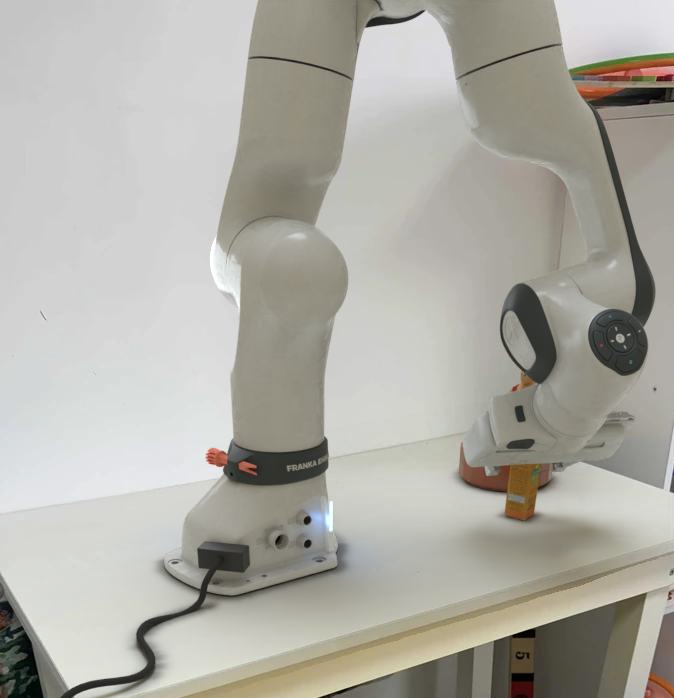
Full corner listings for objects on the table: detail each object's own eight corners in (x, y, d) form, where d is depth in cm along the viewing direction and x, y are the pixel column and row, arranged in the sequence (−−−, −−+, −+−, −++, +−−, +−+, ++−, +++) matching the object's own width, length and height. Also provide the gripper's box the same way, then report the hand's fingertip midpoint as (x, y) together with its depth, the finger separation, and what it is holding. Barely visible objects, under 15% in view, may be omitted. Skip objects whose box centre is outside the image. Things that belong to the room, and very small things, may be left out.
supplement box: (526, 521, 120) (533, 451, 116) (503, 516, 122) (510, 446, 117) (536, 514, 122) (544, 445, 118) (514, 509, 124) (521, 440, 120)
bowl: (515, 499, 128) (519, 467, 125) (440, 477, 137) (442, 446, 134) (568, 477, 137) (572, 446, 134) (494, 458, 146) (496, 428, 143)
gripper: (635, 390, 109) (589, 444, 121) (478, 397, 105) (448, 452, 118) (647, 435, 107) (599, 485, 120) (488, 443, 103) (456, 494, 116)
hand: (523, 469), depth 119 cm, fingers open, 8 cm apart
